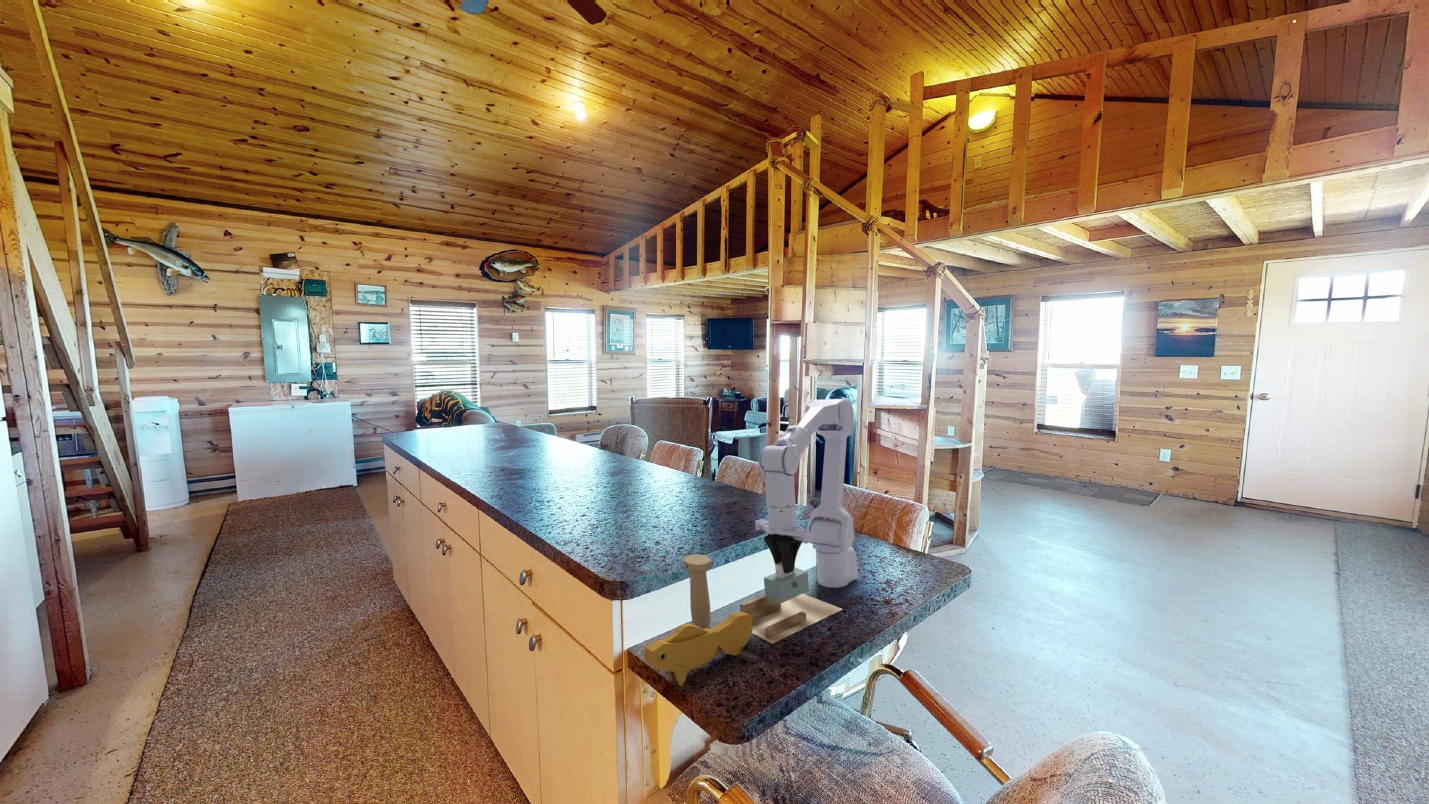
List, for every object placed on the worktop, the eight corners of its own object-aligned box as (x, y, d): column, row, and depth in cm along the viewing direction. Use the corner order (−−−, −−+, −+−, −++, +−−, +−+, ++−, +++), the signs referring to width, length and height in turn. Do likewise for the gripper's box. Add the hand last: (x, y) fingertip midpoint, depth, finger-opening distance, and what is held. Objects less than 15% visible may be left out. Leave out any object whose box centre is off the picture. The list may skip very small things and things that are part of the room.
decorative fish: (648, 694, 82) (656, 628, 83) (638, 686, 84) (646, 622, 86) (751, 671, 96) (757, 615, 97) (740, 664, 98) (746, 610, 99)
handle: (700, 643, 99) (695, 566, 99) (683, 631, 105) (678, 558, 104) (721, 635, 102) (716, 560, 101) (703, 624, 107) (698, 552, 107)
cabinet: (793, 584, 110) (790, 554, 110) (811, 591, 106) (809, 560, 106) (765, 596, 105) (762, 565, 105) (783, 604, 101) (781, 572, 101)
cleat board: (800, 596, 117) (799, 575, 117) (843, 613, 108) (841, 590, 108) (731, 626, 105) (730, 602, 105) (772, 648, 96) (771, 622, 96)
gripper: (743, 503, 109) (746, 567, 109) (793, 514, 97) (797, 586, 97) (767, 496, 113) (771, 558, 113) (818, 507, 101) (822, 575, 102)
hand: (785, 570), depth 106 cm, fingers closed on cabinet
